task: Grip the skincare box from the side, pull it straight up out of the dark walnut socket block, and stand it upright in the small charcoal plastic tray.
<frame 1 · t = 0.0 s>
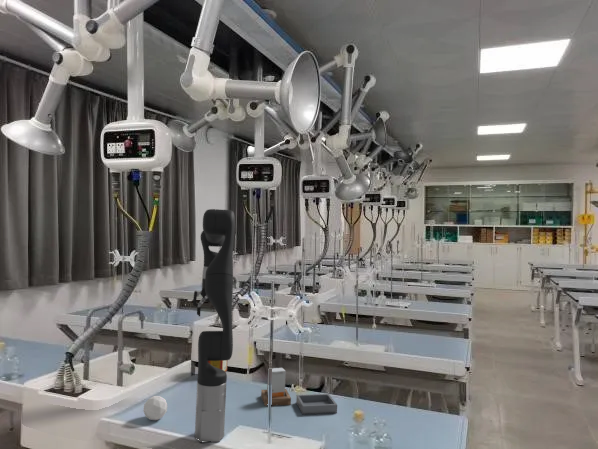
hand: (209, 316, 187), 29 cm above the table, tool pointing down, fingers open, 8 cm apart
tray: (316, 407, 169), on the table
skincare box: (275, 400, 174), resting in socket block
baking soda box: (217, 373, 204), on the table
socket block: (275, 400, 174), on the table
geometric ball: (154, 419, 153), on the table
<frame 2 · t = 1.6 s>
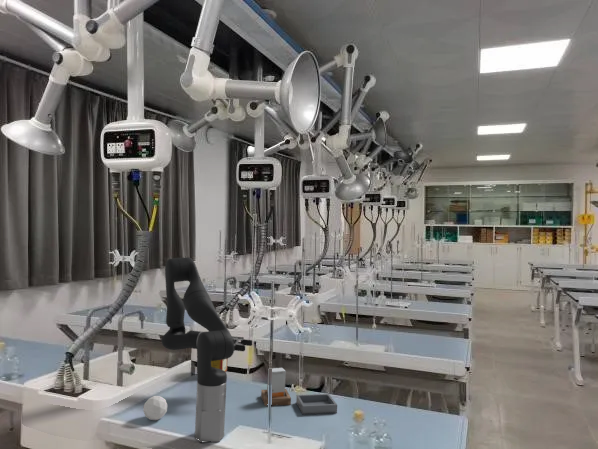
hand: (248, 345, 177), 20 cm above the table, tool horizontal, fingers open, 8 cm apart
nothing on the table moved.
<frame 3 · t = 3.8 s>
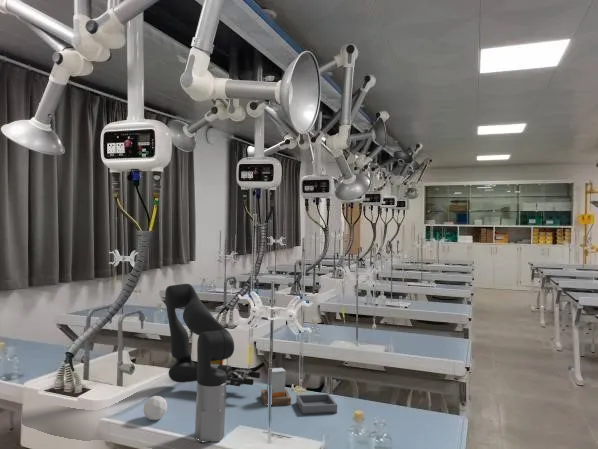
hand: (256, 378, 176), 8 cm above the table, tool horizontal, fingers open, 8 cm apart
nothing on the table moved.
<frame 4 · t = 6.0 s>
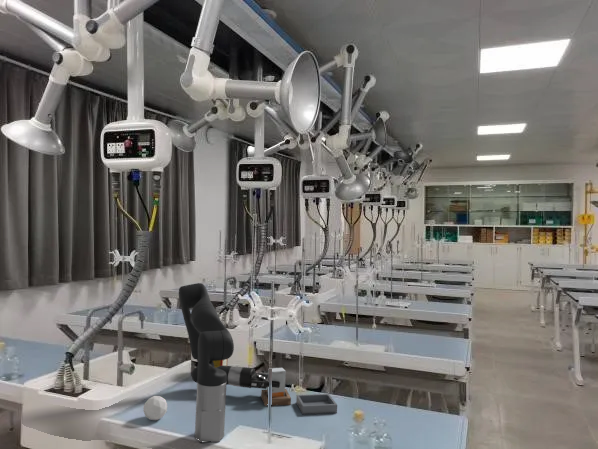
hand: (282, 381, 174), 8 cm above the table, tool horizontal, fingers closed on skincare box, 6 cm apart
skincare box: (275, 400, 174), resting in socket block, touching gripper
everything else where it was.
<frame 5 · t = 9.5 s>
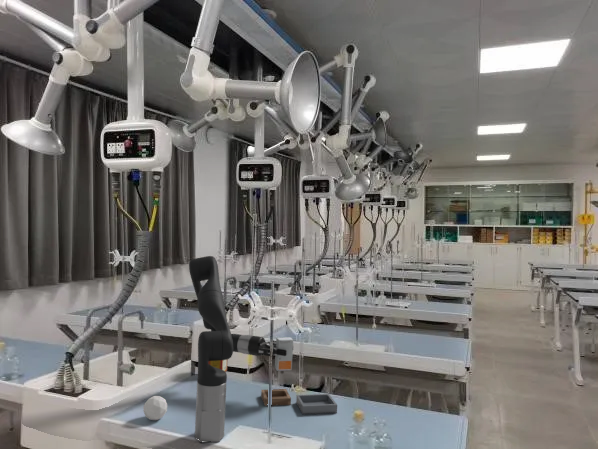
hand: (289, 350, 174), 20 cm above the table, tool horizontal, fingers closed on skincare box, 6 cm apart
skincare box: (283, 369, 175), point 12 cm above the table, touching gripper
everything else where it was.
when the fingers open (9 cm above the table, at t = 13.0 s): skincare box drops 1 cm, resting on tray.
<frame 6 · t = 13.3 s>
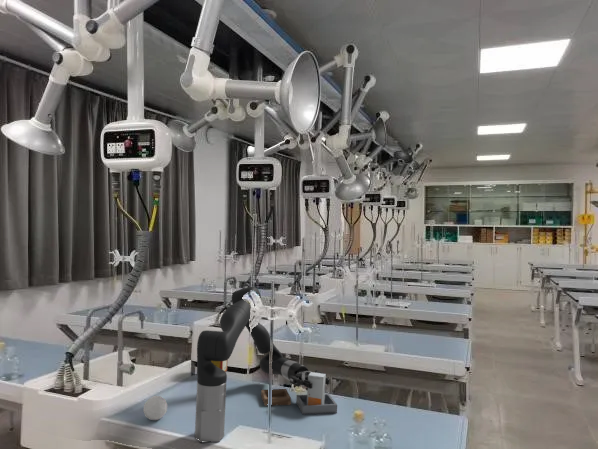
hand: (320, 383, 167), 10 cm above the table, tool horizontal, fingers open, 8 cm apart
skincare box: (315, 406, 169), resting on tray
everything else where it was.
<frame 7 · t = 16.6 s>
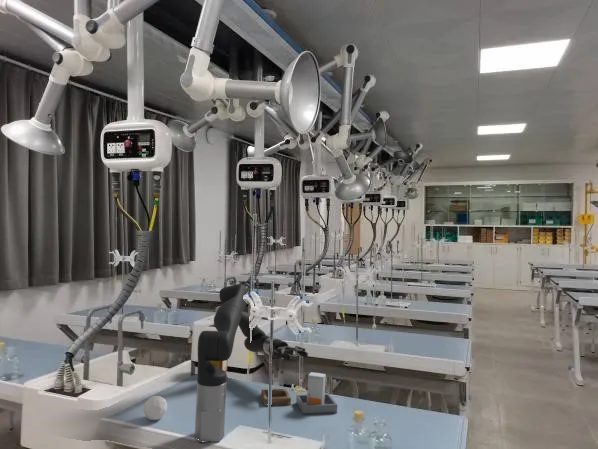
hand: (298, 356, 178), 16 cm above the table, tool horizontal, fingers open, 8 cm apart
nothing on the table moved.
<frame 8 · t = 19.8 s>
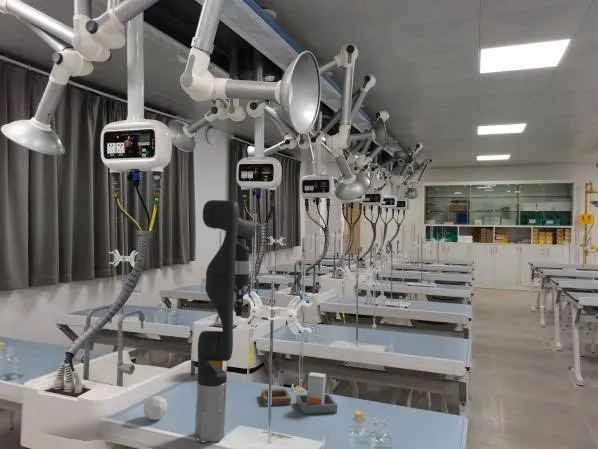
hand: (237, 313, 174), 33 cm above the table, tool pointing down, fingers open, 8 cm apart
nothing on the table moved.
at the end: skincare box inside the target area on the tray (0.2 cm from its centre), point 0.4 cm above the tray's base; skincare box tilted 0°; the gripper is holding nothing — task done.
